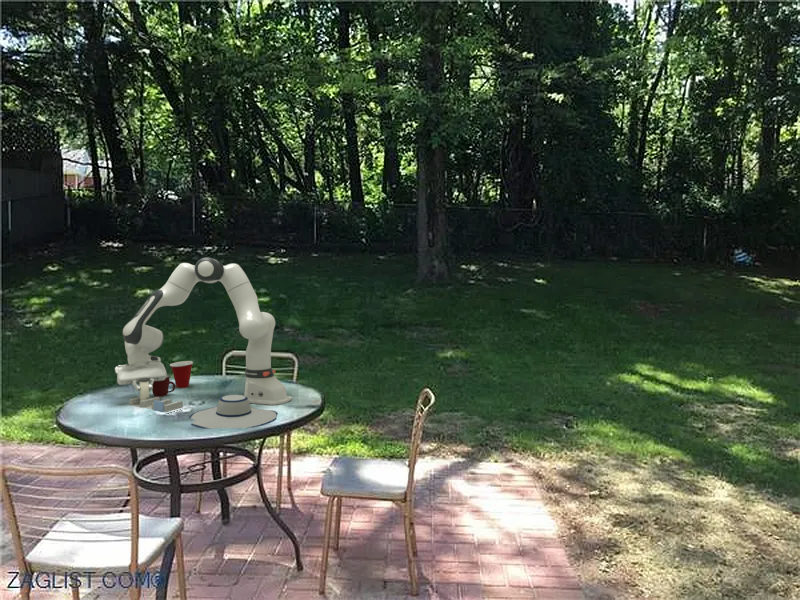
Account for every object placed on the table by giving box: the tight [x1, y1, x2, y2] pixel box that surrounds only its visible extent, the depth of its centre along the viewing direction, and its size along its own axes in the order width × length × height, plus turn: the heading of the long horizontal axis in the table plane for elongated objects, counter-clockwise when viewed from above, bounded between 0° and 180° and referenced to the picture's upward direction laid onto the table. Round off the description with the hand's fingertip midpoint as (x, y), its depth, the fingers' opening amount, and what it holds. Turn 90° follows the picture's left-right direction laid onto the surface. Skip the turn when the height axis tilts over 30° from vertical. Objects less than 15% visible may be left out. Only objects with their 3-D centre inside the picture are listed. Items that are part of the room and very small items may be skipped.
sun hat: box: [188, 394, 278, 429], centre depth 284 cm, size 36×36×9 cm
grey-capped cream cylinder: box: [139, 378, 150, 401], centre depth 299 cm, size 4×4×10 cm
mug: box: [151, 374, 176, 398], centre depth 316 cm, size 11×8×10 cm
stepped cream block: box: [128, 396, 184, 415], centre depth 296 cm, size 22×10×6 cm, turn 61°
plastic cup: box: [169, 360, 194, 389], centre depth 339 cm, size 11×11×12 cm
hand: (144, 389), depth 298 cm, fingers closed on grey-capped cream cylinder, 4 cm apart
